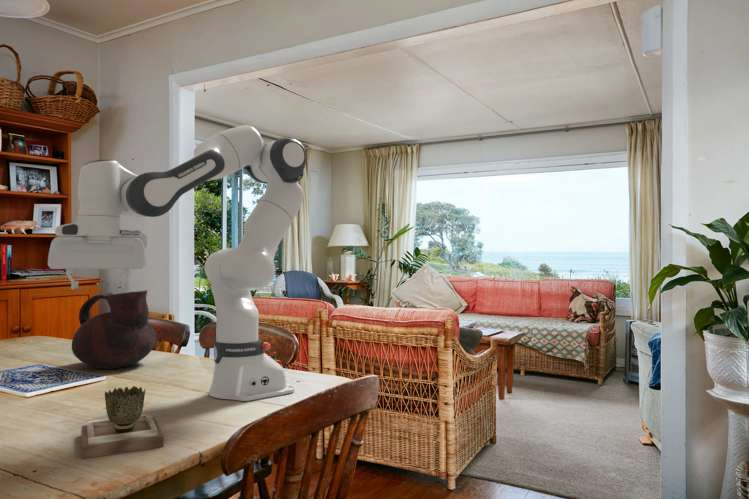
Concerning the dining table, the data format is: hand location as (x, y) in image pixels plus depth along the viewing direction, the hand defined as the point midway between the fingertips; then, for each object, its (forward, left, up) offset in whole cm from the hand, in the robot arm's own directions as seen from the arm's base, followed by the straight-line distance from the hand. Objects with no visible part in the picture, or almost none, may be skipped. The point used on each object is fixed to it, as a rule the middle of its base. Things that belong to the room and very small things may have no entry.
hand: (98, 288), depth 126 cm
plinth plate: (-4, +22, -29) cm, 36 cm away
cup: (-4, +22, -27) cm, 35 cm away
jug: (-7, -57, -29) cm, 65 cm away
